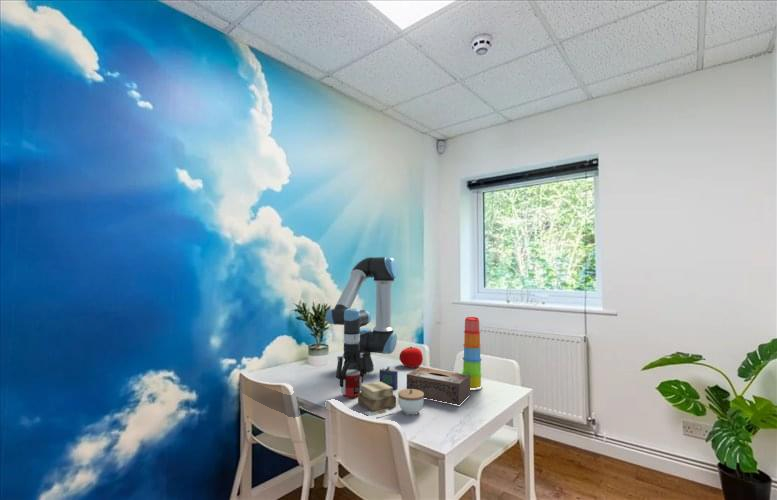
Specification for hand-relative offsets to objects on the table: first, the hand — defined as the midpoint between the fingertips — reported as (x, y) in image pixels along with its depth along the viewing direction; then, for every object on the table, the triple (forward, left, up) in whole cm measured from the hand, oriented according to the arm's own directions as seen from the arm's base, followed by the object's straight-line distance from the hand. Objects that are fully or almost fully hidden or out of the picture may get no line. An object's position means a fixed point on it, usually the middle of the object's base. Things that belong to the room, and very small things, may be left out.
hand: (351, 391), depth 172 cm
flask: (-20, +1, -2) cm, 20 cm away
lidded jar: (-12, +30, -2) cm, 32 cm away
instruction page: (0, +24, -2) cm, 24 cm away
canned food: (0, 0, -2) cm, 2 cm away
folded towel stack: (-4, +16, -2) cm, 16 cm away
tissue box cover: (-34, +22, -2) cm, 41 cm away
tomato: (-53, -23, -2) cm, 58 cm away
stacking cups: (-56, +22, -2) cm, 60 cm away
